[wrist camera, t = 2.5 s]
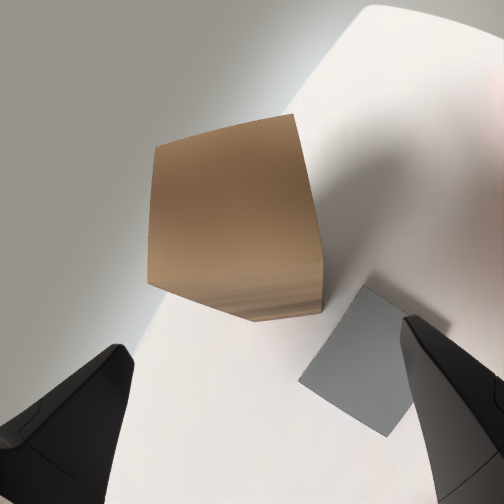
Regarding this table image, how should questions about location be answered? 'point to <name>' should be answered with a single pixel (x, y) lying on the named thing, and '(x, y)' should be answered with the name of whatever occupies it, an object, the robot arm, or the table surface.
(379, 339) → the base plate
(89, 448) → the robot arm
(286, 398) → the table surface
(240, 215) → the pillar
